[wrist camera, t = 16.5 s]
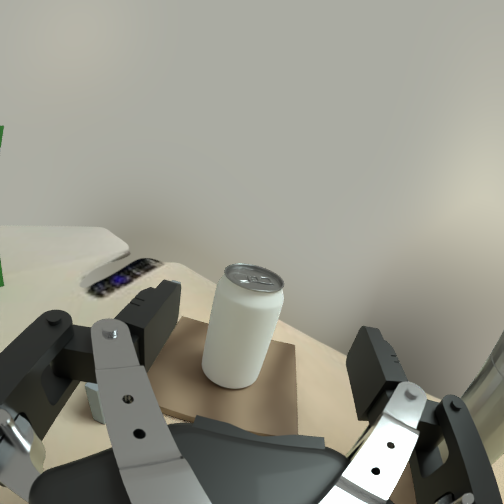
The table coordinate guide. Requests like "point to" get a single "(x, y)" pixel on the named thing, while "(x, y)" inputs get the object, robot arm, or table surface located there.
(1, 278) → the hardback book
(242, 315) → the can
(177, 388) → the walnut board
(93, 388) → the low wall
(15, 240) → the table surface
